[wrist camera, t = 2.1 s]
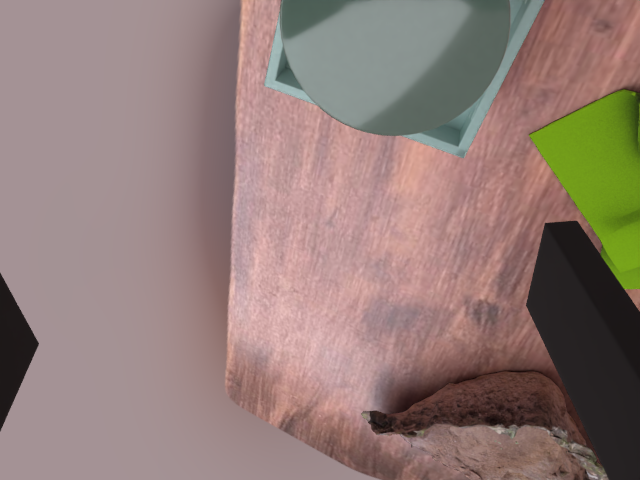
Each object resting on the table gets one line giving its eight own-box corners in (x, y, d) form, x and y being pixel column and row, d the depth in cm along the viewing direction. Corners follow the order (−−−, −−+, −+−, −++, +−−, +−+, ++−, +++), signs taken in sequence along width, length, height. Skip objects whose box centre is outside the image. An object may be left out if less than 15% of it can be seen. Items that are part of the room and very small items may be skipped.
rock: (350, 399, 66) (330, 485, 60) (411, 301, 49) (391, 408, 42) (561, 469, 66) (562, 563, 60) (697, 396, 48) (720, 518, 42)
